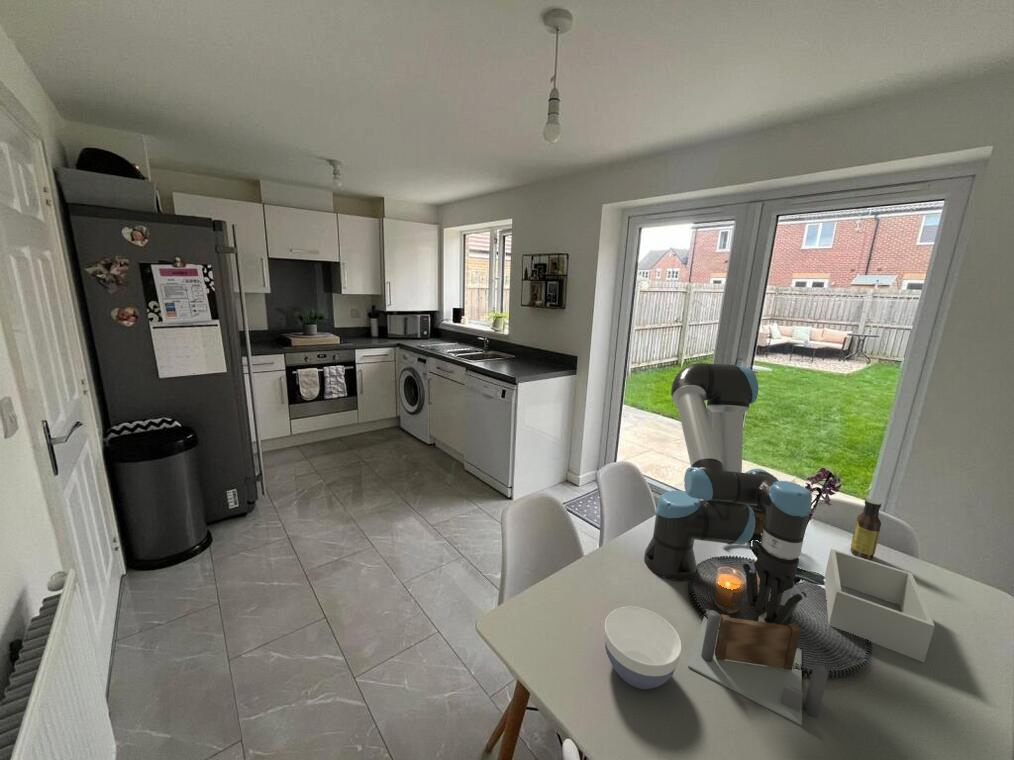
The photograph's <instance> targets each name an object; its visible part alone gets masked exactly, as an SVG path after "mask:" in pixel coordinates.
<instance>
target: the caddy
mask: <svg viewBox="0 0 1014 760" xmlns="http://www.w3.org/2000/svg"><path fill="white" fill-rule="evenodd" d="M913 575H914V574H913V573H911V572H908V571H905V570H902V569H900V568H899V569H898V568H896V567H892V566H889V565H885V564H883V563H879V562H876V561H872V560H867V559H863V558H860V557H857V556H855V555H854V554H850V553H847V552H845V551H844V552H843V551H840V550H837V549H834V548H830V551H829V556H828V560H827V565H826V569H825V572H824V577H825V580H826V581H825V580H824V589H825V599H826V600H827V601H826V600H825V601H826V611H827V620H828V626H829V627H832V628H834V627H835V628H834V629H836V630H837V629H838V630H839V629H840V630H839V631H842V630H843V631H842V632H844V631H846V632H845V633H847V632H849V633H848V634H850V633H851V634H850V635H852V634H854V635H853V636H855V635H856V637H857V636H859V637H858V638H860V637H863V638H865V639H868V640H869V641H868V642H870V641H871V643H873V644H876V645H878V646H879V647H880V646H881V647H883V648H886V649H888V650H891V651H894V652H896V653H899V654H901V655H904V656H906V657H908V658H911V659H914V660H916V661H919V662H922V663H925V660H926V657H927V654H928V650H929V647H930V644H931V641H932V638H933V637H932V636H933V634H934V631H935V628H936V627H935V623H934V621H933V618H932V616H931V615H930V611H929V609H928V607H927V605H926V603H925V601H924V597H923V596H922V594H921V591H920V589H919V586H918V584H917V581H916V579H915V577H914V576H913ZM842 586H843V587H845V588H848V589H852V590H854V591H857V592H860V593H863V594H865V595H869V596H872V597H875V598H878V599H880V600H883V601H886V602H889V603H892V604H895V605H898V606H899V608H900V610H901V611H899V610H895V609H893V608H890V607H887V606H884V605H881V604H879V603H876V602H873V601H870V600H867V599H864V598H862V597H858V596H856V595H854V594H850V593H847V592H845V591H842ZM865 639H864V640H865Z"/></svg>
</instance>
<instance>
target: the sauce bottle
mask: <svg viewBox="0 0 1014 760" xmlns="http://www.w3.org/2000/svg"><path fill="white" fill-rule="evenodd" d="M881 508H882V503H881V502H880V501H878V500H876V499H873V498H865V500H864V507H863V510H862V512H861V513H860V514H859V515H858V516H857V518H856V519H855V520H856V521H855V525H854V530H853V535H852V538H851V544H850V549H849V551H850V552H851V553H852V555H853V556H857V557H860V558H863V559H867V560H870V561H872V560H873V559H874V555H875V554H876V551H877V545H878V542H879V536H880V532H881V526H882V523H881V519H880V518H879V514H880V513H879V512H880V509H881Z"/></svg>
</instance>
